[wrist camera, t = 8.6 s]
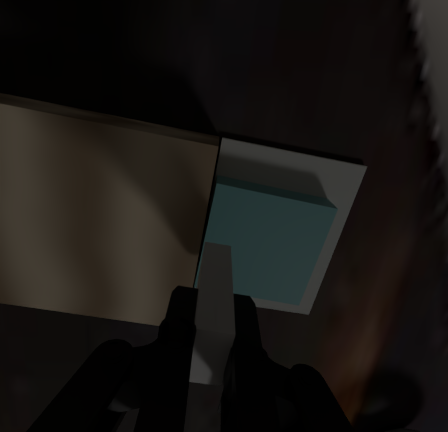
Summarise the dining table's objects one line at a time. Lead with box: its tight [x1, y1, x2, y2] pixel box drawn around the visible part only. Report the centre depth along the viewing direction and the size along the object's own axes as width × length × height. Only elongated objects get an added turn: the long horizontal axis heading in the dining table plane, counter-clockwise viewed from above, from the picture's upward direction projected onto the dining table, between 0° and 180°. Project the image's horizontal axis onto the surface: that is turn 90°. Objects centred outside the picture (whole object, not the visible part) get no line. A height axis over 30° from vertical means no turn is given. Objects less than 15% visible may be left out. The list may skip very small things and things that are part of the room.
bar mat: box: [194, 137, 367, 315], centre depth 22 cm, size 10×13×1 cm
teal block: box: [194, 175, 338, 306], centre depth 20 cm, size 8×8×2 cm
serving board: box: [0, 93, 219, 326], centre depth 19 cm, size 14×13×4 cm
